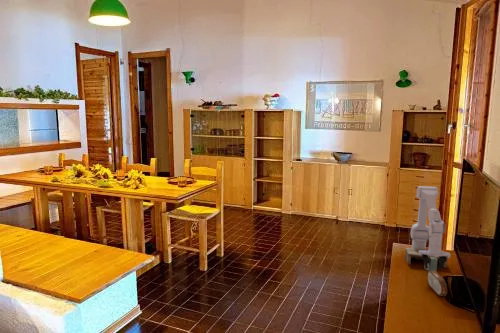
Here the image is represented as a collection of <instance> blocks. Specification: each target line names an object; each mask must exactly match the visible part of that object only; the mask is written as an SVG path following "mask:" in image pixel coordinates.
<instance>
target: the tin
mask: <svg viewBox="0 0 500 333" xmlns="http://www.w3.org/2000/svg"><path fill="white" fill-rule="evenodd" d="M428 271H429V270H428ZM428 271H427V282H428V285H429V287H430V288H431V289H432V290H433V291H434V292H435V294H436V295H438V296H440V297H446V296H447V294H448V287H447V286H448V284H447V283H446V280H445V279H444V278H443V277H442V276H441V275H440V274H439V273H438V272H437V270H436V271H429V272H428Z"/></svg>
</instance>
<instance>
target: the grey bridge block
mask: <svg viewBox="0 0 500 333" xmlns="http://www.w3.org/2000/svg"><path fill="white" fill-rule="evenodd" d="M419 250H428V249H415V248H412V247H405V252H404V253H405V255H404V258H405V261H406V263H408V264H407V265H412V264H411V263H412V262H411V260H412V259H411V258H415V259H414V260H420V261H421V260H423V257H422V255H419ZM441 252H445V251H444V250H441ZM427 256H428V255H427ZM430 257H434V256H428V261H430ZM436 258H437V262H439V256H438V257H436ZM448 259H449V258H448V257H447V261H446V262H445V263H444V265H443V267H442V268H444V269H445V268H446V269H447V268H448ZM423 261H424V260H423Z"/></svg>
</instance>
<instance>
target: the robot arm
mask: <svg viewBox="0 0 500 333" xmlns="http://www.w3.org/2000/svg"><path fill="white" fill-rule="evenodd" d="M415 196H416V198H417V199H419V200H418V209H417V210H418V212H417V221H416V222H415V224H412V225H411V227H410V234H409V235H410V238H411V240H412V241H411V248H415V249H426V248H427V247H426V246H427V242H428V249H427V250H419V255H422V257H423V262H424V264H425V269H424V270H426V269H427V263H429V260H428V256H434V257H438V256H439V261H438V270H439V271H442V269H443V268H444V267H443V265H444V263H445V262H446V261H447V262H448V260H447V257H448V259H450V258H451V253H450V252H446V251H444V252H441V251H442V243H443V242H442V241H443V234H444V233H445V232H446V231H445V230H446V224H445V222H444V220H443V219H442V218H441V214H440V211H439V210H438V209H437V202H436V200H437V198H438V196H439V189H438V187H437V186H421V185H419V186H417V188H416V194H415ZM427 219H428V222H429V224H428V225H427ZM427 255H428V256H427ZM424 264H423V265H424Z"/></svg>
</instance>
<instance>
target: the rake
mask: <svg viewBox="0 0 500 333" xmlns="http://www.w3.org/2000/svg"><path fill="white" fill-rule="evenodd" d="M423 268H425V264H423ZM427 268H429V270H427V273H428V272H429V271H436V272H437V268H438V261H437V258H436V257H430V260H428V263H427Z"/></svg>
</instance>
